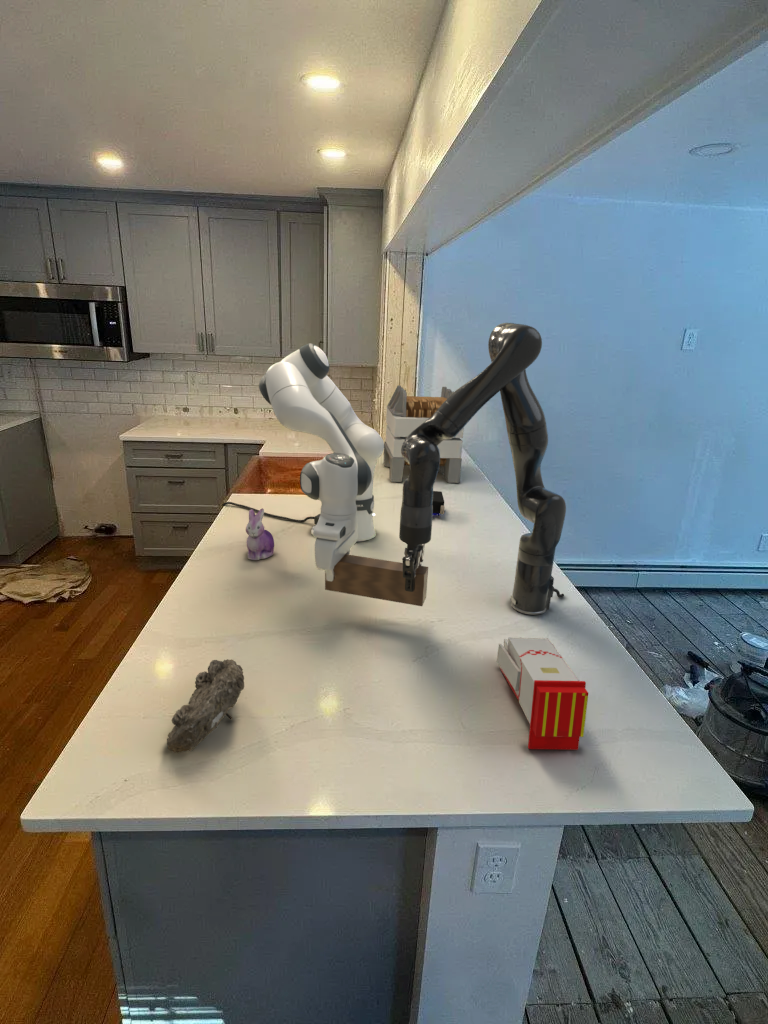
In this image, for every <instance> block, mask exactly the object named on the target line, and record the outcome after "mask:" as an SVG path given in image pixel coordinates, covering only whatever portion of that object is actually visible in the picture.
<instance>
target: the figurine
mask: <svg viewBox="0 0 768 1024" xmlns="http://www.w3.org/2000/svg"><path fill="white" fill-rule="evenodd" d="M258 510H259V512H256V513H255V511H253V510H252V509H251V510H250V509H249V510H248V522H247V524H246V526H245V533H246V534H247V538H246V542H245V543H246V548H247V550H248V551H247V559H248V560H252V561H259V560H265V559H267V558H270V557H272V556H273V555H274V552H275V551H274V550H275V540H274V536H273V534H272V533H271V532H270V531H269V530H268V529H265V526H264V523H263V519H264V516H265V515H264V512H265V509H264V508H260V509H258Z"/></svg>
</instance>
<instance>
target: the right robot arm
mask: <svg viewBox="0 0 768 1024" xmlns="http://www.w3.org/2000/svg"><path fill="white" fill-rule="evenodd" d="M488 337H489V338H488V344H487V346H488V347H487V348H488V349H487V350H488V355H489V359H490V361H491V362H490V364H488V366H487V367H486V368H484V369H483V370H482V371H481V372H480V373H478V374H476V376H474V377H473V378H471V379H470V380H468V381H467V382H465V383H464V384H463V385H461V386H459V388H457V389H456V390H454V393H452V394H451V395H450V396H449V397H448V398H447V399H446V401H445V402H444V403H443V404H442V405H441V406H440V407H439V408H438V410H437V411H436V412H435V413H434V414H433V416H432V417H431V418H429V419H428V420H426V421H425V422H424V423H422V424H421V425H420V426H419V427H417V428H416V429H415V430H414V431H412V432H411V433H410V434H409V435H408V436H407V438H406V439H405V440H404V442H403V444H402V447H401V454H402V457H403V458H404V460H405V461H406V462H408V463H409V464H410V466H409V473H408V477H407V478H405V479H404V481H403V483H402V484H403V485H402V495H401V497H402V498H401V499H402V500H401V507H400V512H399V513H400V514H399V515H400V517H399V535H398V537H399V540H400V541H401V542H402V543H405V545H406V547H405V548H404V552H403V554H404V556H402V563H403V578H406V579H405V590H406V591H409V592H413V591H414V589H415V577H416V569H417V568H419V566H423V565H422V563H424V555H425V545H426V544H429V543H430V542H431V539H432V529H433V518H432V516H434V515H433V509H432V501H433V491H434V485H435V483H436V479H437V476H438V472H439V465H440V452H439V449H438V447H437V446H438V445H439V444H440V443H441V442H442V441H443V440H449V439H452V438H454V437H455V436H456V435H457V434H458V433H459V431H461V430H462V429H463V427H464V428H465V426H466V425H467V424H468V423H469V422H470V421H471V420H472V419H473V418H474V416H475V415H476V414H477V413H478V412H479V411H480V410H481V409H482V408H483V407H484V406H485V405H486V404H487V403H488V402H490V400H491V399H493V398H494V397H495V396H496V395H497V394H498V393H499V394H500V399H501V405H502V410H503V415H504V420H505V425H506V426H505V427H506V433H507V438H508V443H509V448H510V452H511V457H512V464H513V469H514V474H515V486H516V500H517V507H518V511H519V513H520V515H521V516H522V517H523V519H525V520H527V521H528V522H531V523H532V524H533V526H532V531H531V532H527V533H524V534H522V535H521V536H520V538H519V543H518V552H517V560H516V566H515V574H514V580H513V581H514V582H513V588H512V595H510V606H511V607H512V609H513V610H515V611H516V612H519V613H521V614H524V615H530V616H538V615H542V614H544V613H546V612H547V611H549V610H550V608H551V607H550V606H551V599H552V598H553V596H554V593H555V594H556V596H557V598H564V597H565V594H564V593H561V592H560V591H559V589H557V588H556V587H555V586H554V583H555V582H554V581H555V577H554V576H553V575H552V574H553V568H554V560H555V554H556V549H557V546H558V545H559V542H560V541H561V538H562V533H563V528H564V524H565V519H566V513H567V503H566V500H565V498H564V497H563V496H561V495H560V494H558V493H557V492H556V493H555V492H554V491H551V490H549V489H547V488H546V487H545V485H544V481H543V477H542V468H541V467H542V462H543V459H544V457H545V455H546V452H547V449H548V446H549V432H548V427H547V420H546V416H545V412H544V410H543V407H542V405H541V404H540V401H539V399H538V398H537V396H536V394H535V392H534V390H533V388H532V386H531V384H530V382H529V379H528V375H527V369H528V368H529V367H531V365H532V364H534V363H535V361H536V360H537V359H538V357H539V356H540V353H541V351H542V347H543V339H542V335H541V333H540V332H539V330H537V328H535V327H533V326H531V325H528V324H525V323H524V324H523V323H515V322H502V323H499V324H498V325H496V326H495V327H493V329H492V331H491V333H490V335H489V336H488ZM408 571H409V572H411V573H409V572H408Z"/></svg>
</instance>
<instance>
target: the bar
mask: <svg viewBox="0 0 768 1024" xmlns="http://www.w3.org/2000/svg"><path fill="white" fill-rule="evenodd" d="M333 571H334V573H335V578H334V580H333V581H327V580H326V573H325V572H324V590H325V591H331V592H335V593H342V594H347V595H353V596H359V597H366V598H370V599H371V598H372V599H376V600H382V601H389V602H394V603H399V604H400V603H401V604H404V605H405V604H406V605H411V606H418V607H423V606H424V603H425V601H426V599H427V591H428V579H429V577H428V576H429V566H425V565H422V566H419V568H417V569H416V577H415V589H414V591H413V592H409V591H406V590H405V579H406V578H403V562H399V561H393V560H386V559H380V558H373V557H366V556H361V555H353V554H349V555H348V554H345V555H344V556H343V557H342V558H341V560H340V561H339V562H338V563H337V564H336V565H335V566H334V569H333ZM408 572H409V571H408ZM409 573H411V572H409Z"/></svg>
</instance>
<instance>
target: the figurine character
mask: <svg viewBox="0 0 768 1024" xmlns="http://www.w3.org/2000/svg"><path fill="white" fill-rule="evenodd" d="M432 509H433V516H437V518H438V519H441V515H445V499H444V495H443V491H439V490H433V501H432ZM433 516H432V519H433V518H434V517H433Z"/></svg>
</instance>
